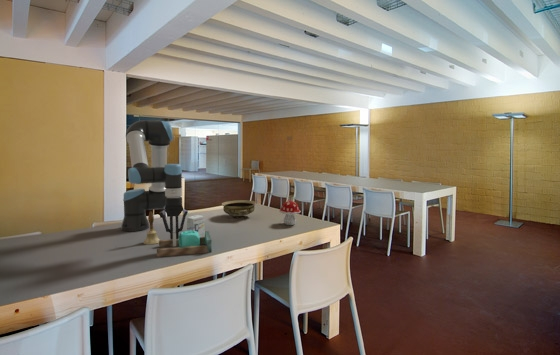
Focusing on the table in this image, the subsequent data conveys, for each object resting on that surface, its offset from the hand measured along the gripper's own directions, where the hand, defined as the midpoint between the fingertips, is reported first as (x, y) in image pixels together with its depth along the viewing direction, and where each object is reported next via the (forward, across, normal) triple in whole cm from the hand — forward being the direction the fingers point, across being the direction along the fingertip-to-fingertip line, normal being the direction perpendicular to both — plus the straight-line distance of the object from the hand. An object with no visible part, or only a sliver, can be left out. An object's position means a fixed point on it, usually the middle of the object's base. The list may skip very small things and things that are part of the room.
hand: (174, 245), depth 152 cm
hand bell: (+2, -12, +16) cm, 20 cm away
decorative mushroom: (+2, +69, +35) cm, 78 cm away
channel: (+2, +5, 0) cm, 5 cm away
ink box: (+2, +10, +18) cm, 21 cm away
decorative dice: (+2, +7, 0) cm, 7 cm away
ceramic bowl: (+2, +41, +63) cm, 75 cm away
